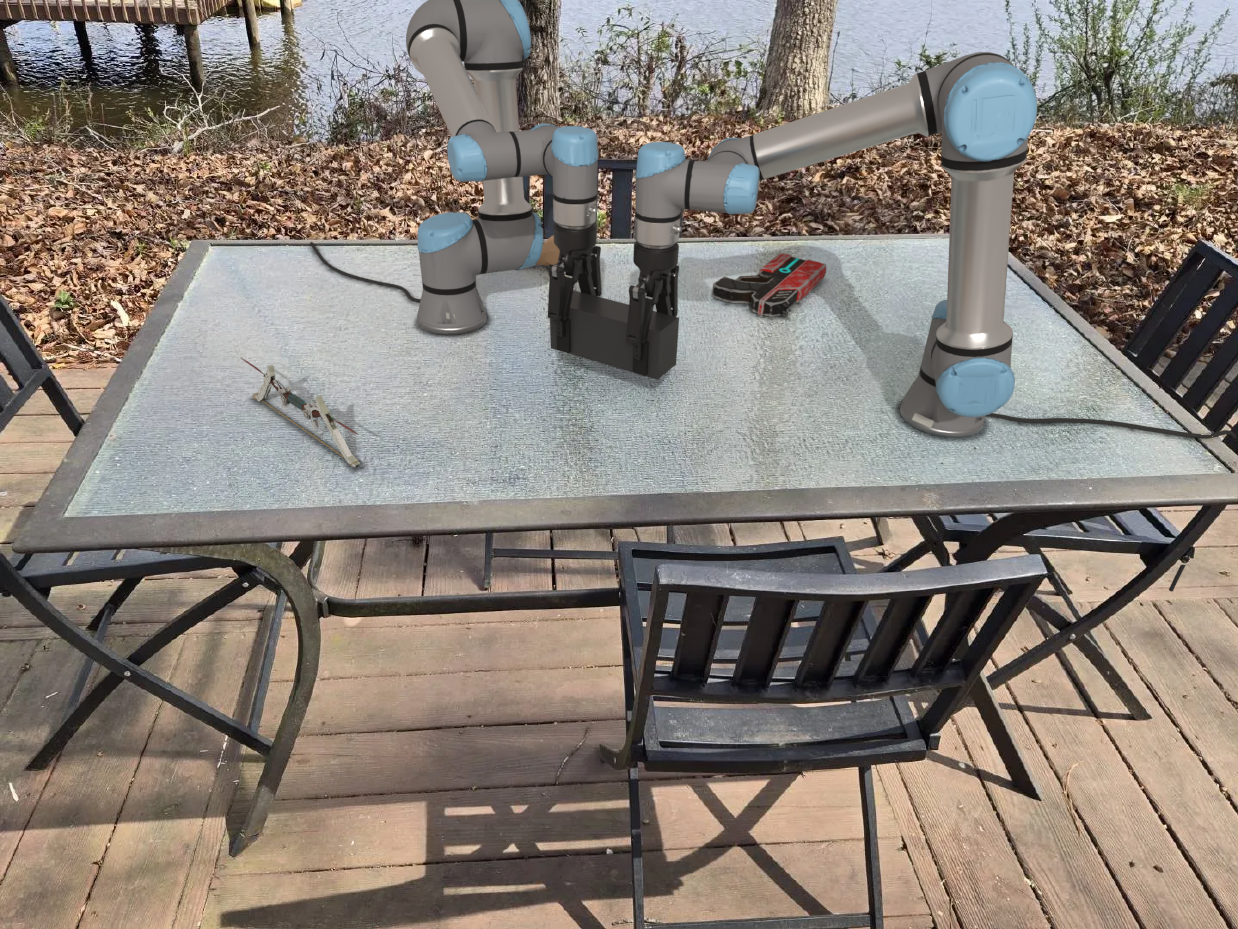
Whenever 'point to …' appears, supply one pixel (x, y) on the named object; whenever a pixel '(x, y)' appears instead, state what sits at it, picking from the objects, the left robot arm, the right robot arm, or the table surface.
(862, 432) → the table surface
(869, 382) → the table surface
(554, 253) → the squash
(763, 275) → the gun
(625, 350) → the box
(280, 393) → the bow
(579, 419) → the table surface
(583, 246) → the left robot arm
